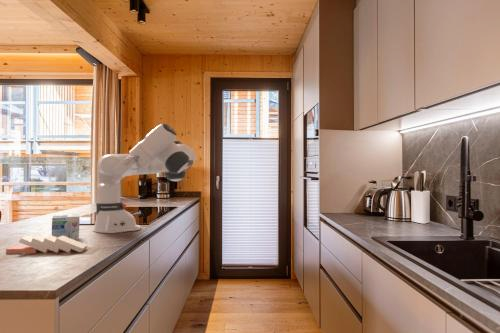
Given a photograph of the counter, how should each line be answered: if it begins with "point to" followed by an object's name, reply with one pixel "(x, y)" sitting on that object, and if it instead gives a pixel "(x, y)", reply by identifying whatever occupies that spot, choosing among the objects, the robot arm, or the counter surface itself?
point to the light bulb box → (65, 226)
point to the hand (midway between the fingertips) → (114, 181)
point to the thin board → (87, 251)
